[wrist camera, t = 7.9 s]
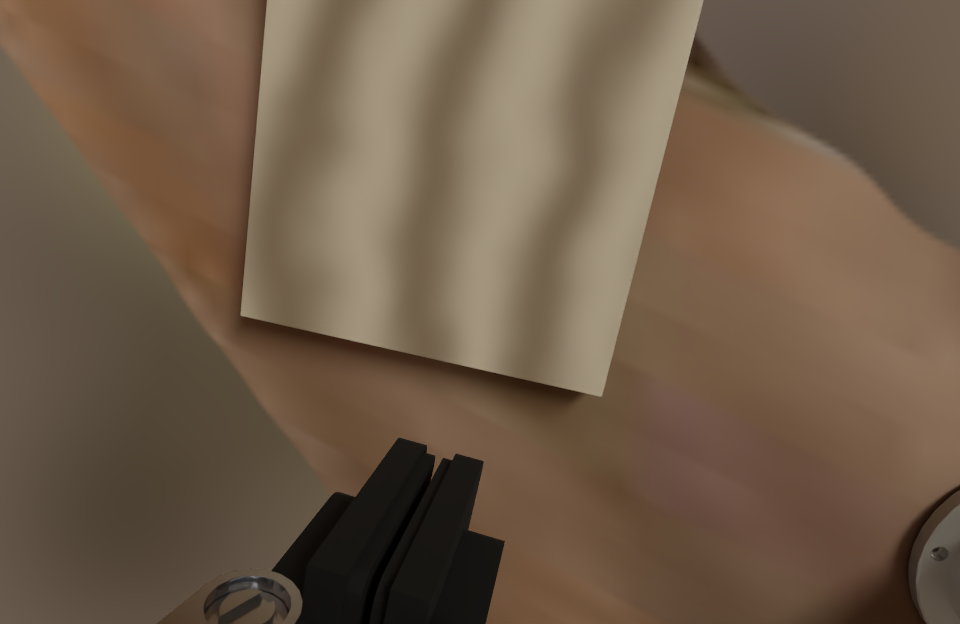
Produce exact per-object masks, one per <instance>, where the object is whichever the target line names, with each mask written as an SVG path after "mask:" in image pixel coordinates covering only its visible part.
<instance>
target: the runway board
mask: <svg viewBox="0 0 960 624" xmlns="http://www.w3.org/2000/svg"><path fill="white" fill-rule="evenodd" d="M702 4H703V0H267V7H266V19H265V31H264V43H263V55H262V67H261V79H260V90H259V102H258V114H257V126H256V138H255V150H254V162H253V173H252V185H251V197H250V209H249V221H248V233H247V244H246V256H245V268H244V280H243V292H242V304H241V316H244V317H249V318H253V319H258V320H262V321H267V322H271V323H275V324H280V325H284V326H289V327H293V328H298V329H302V330H307V331H311V332H315V333H320V334H324V335H329V336H333V337H338V338H342V339H347V340H351V341H355V342H360V343H364V344H369V345H373V346H378V347H382V348H387V349H391V350H396V351H400V352H404V353H409V354H413V355H418V356H422V357H427V358H431V359H436V360H440V361H444V362H449V363H453V364H458V365H462V366H467V367H471V368H476V369H480V370H484V371H489V372H493V373H498V374H502V375H507V376H511V377H516V378H520V379H524V380H529V381H533V382H538V383H542V384H547V385H551V386H556V387H560V388H564V389H569V390H573V391H578V392H582V393H587V394H591V395H596V396H600V397H602V394H603V390H604V386H605V382H606V378H607V374H608V370H609V366H610V363H611V359H612V355H613V351H614V347H615V343H616V339H617V335H618V331H619V328H620V324H621V320H622V316H623V312H624V308H625V304H626V300H627V296H628V292H629V289H630V285H631V281H632V277H633V273H634V269H635V265H636V261H637V257H638V254H639V250H640V246H641V242H642V238H643V234H644V230H645V226H646V222H647V218H648V215H649V211H650V207H651V203H652V199H653V195H654V191H655V187H656V183H657V180H658V176H659V172H660V168H661V164H662V160H663V156H664V152H665V148H666V144H667V141H668V137H669V133H670V129H671V125H672V121H673V117H674V113H675V109H676V106H677V102H678V98H679V94H680V90H681V86H682V82H683V78H684V74H685V70H686V67H687V63H688V59H689V55H690V51H691V47H692V43H693V39H694V35H695V32H696V28H697V24H698V19H699V16H700V12H701V8H702Z"/></svg>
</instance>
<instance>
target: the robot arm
mask: <svg viewBox="0 0 960 624" xmlns="http://www.w3.org/2000/svg"><path fill="white" fill-rule="evenodd" d="M426 452H427V445H424V444H420V443H416V442H413V441H409V440H406V439H402V438H398V439H397V440H396V442H395V443H394V445H393V446H392V447H391V449H390V450H389V452H388V453H387V454H386V456H385V457H384V458H383V460H382V461H381V463H380V464H379V465H378V467H377V468H376V470H375V471H374V472H373V474H372V475H371V476H370V478H369V479H368V481H367V482H366V483H365V485H364V486H363V487H362V489H361V490H360V492H359V493H358V494H357V496H356V497H353V496H350V495H347V494H343V493H340V492H335V493H334V494H333V495H332V496H331V497H330V498H329V499H328V501H327V502H326V503H325V505H324V506H323V507H322V508H321V509H320V511H319V512H318V513H317V514H316V516H315V517H314V518H313V519H312V521H311V522H310V523H309V525H308V526H307V527H306V528H305V529H304V531H303V532H302V533H301V534H300V536H299V537H298V538H297V539H296V541H295V542H294V543H293V544H292V546H291V547H290V548H289V549H288V551H287V552H286V553H285V554H284V556H283V557H282V558H281V559H280V561H279V562H278V563H277V564H276V566H275V567H274V568H273V570H272V571H269V570H265V569H252V568H251V569H242V570H235V571H231V572H229V573H226V574H223V575H220V576H218V577H216V578H215V579H213V580H211V581H210V582H208V583H206V584H205V585H204V586H203V587H201V588H200V589H199V590H198V591H196V592H195V593H194V594H193V595H191V596H190V597H189V598H188V599H187V600H185V601H184V602H183V603H182V604H181V605H179V606H178V607H177V608H176V609H174V610H173V611H172V612H171V613H169V614H168V615H167V616H166V617H164V618H163V619H162V620H161V621H159V622H158V623H157V624H485V623H486V619H487V615H488V611H489V606H490V602H491V598H492V594H493V589H494V585H495V581H496V577H497V572H498V568H499V564H500V560H501V555H502V551H503V547H504V542H505V541H502V540H499V539H496V538H492V537H489V536H486V535H482V534H479V533H475V532H472V531H469V530H468V528H469V524H470V519H471V515H472V511H473V507H474V502H475V498H476V494H477V490H478V485H479V481H480V477H481V472H482V468H483V462H484V461H481V460H477V459H473V458H470V457H466V456H463V455H459V454H455V456H454V458H453V460H449V459H445V458H443V459H442V461H441V463H440V465H439V467H438V468H437V470H436V472H435V474H434V476H433V478H432V480H431V477H432V472H433V467H434V462H435V455H431V454H427V453H426ZM908 583H909V587H910V592H911V596H912V600H913V602H914V604H915V606H916V608H917V610H918V612H919V614H920V616H921V618H922V619H923V620H924V621H925V623H926V624H960V490H959V491H957V492H956V493H954V494H953V495H952V496H950V497H949V498H948V499H947V500H946V501H945V502H944V503H943V504H941V505H940V506H939V507H938V508H937V509H936V510H935V511H934V512H933V514H932V515H931V516H930V517H929V519H928V520H927V521H926V523H925V524H924V525H923V526H922V528H921V530H920V532H919V534H918V536H917V538H916V540H915V542H914V544H913V548H912V552H911V556H910V560H909V564H908Z"/></svg>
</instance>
